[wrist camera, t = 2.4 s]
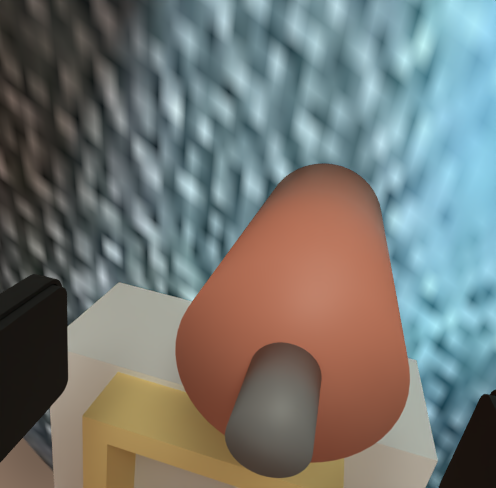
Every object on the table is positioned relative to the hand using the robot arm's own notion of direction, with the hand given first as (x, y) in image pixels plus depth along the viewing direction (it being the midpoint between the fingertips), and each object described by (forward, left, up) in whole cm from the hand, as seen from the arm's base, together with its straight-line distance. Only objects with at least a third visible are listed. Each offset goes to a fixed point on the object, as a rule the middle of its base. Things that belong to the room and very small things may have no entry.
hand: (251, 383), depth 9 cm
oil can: (-1, 0, -11) cm, 11 cm away
